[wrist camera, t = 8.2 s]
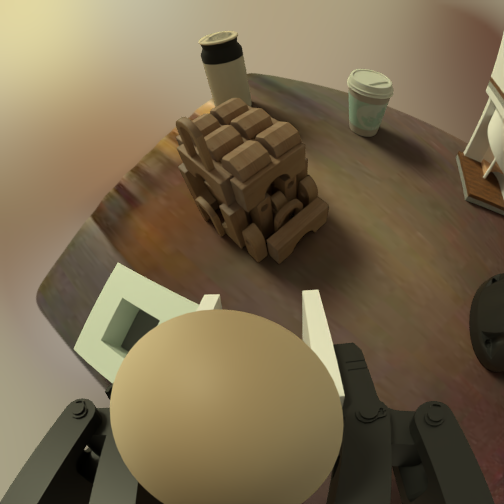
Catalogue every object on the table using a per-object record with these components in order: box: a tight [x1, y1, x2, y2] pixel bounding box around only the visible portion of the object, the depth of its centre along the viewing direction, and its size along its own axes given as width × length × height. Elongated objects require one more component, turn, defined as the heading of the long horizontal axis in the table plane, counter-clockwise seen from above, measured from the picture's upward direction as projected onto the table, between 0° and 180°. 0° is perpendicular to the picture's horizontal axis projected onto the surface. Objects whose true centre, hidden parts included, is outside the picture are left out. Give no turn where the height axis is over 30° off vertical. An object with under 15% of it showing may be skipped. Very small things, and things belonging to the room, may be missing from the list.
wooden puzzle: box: [176, 98, 329, 264], centre depth 34 cm, size 22×15×19 cm, turn 41°
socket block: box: [74, 263, 199, 383], centre depth 32 cm, size 14×14×5 cm
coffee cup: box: [347, 69, 393, 137], centre depth 41 cm, size 8×8×12 cm
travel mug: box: [199, 31, 252, 107], centre depth 46 cm, size 8×8×18 cm
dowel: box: [110, 309, 343, 504], centre depth 10 cm, size 4×4×14 cm
